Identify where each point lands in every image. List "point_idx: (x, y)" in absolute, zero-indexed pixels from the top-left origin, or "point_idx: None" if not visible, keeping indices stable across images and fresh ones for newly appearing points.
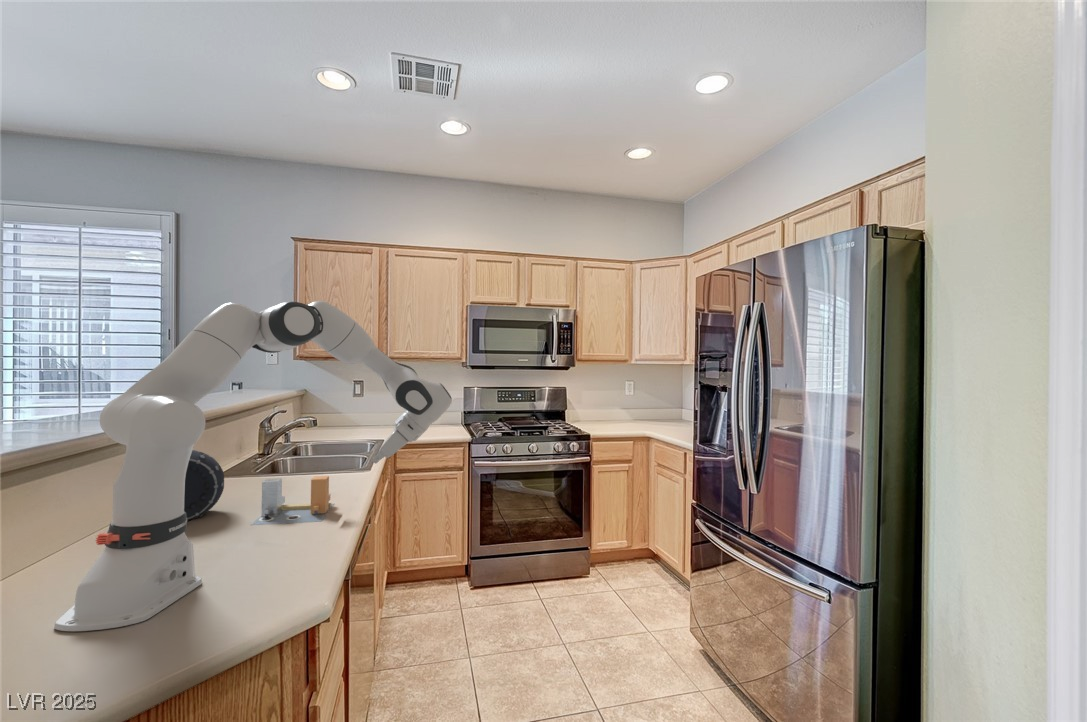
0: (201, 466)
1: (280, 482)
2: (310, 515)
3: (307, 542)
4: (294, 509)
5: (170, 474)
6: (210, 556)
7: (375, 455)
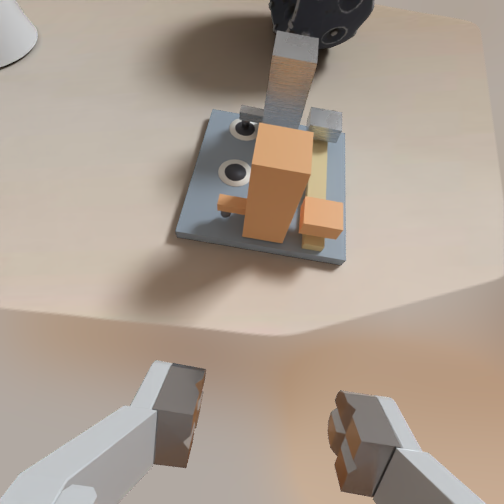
0: None
1: (300, 71)
2: None
3: (55, 213)
4: None
5: None
6: (80, 82)
7: (346, 401)
